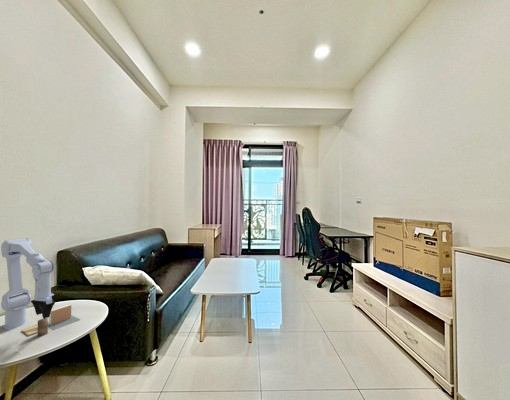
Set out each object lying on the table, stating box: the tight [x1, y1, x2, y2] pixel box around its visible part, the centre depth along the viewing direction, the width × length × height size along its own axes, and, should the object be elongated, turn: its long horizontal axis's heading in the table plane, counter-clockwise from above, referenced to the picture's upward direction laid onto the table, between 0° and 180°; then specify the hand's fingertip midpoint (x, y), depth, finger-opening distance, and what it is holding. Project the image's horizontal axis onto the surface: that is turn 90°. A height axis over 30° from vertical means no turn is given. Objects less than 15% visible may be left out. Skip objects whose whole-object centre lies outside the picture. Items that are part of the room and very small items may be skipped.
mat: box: [48, 314, 81, 331], centre depth 125 cm, size 12×12×1 cm
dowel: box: [37, 318, 49, 337], centre depth 113 cm, size 4×4×7 cm
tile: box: [48, 303, 72, 325], centre depth 126 cm, size 2×9×7 cm, turn 150°
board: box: [21, 323, 38, 337], centre depth 117 cm, size 9×7×1 cm
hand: (42, 315), depth 113 cm, fingers open, 7 cm apart
